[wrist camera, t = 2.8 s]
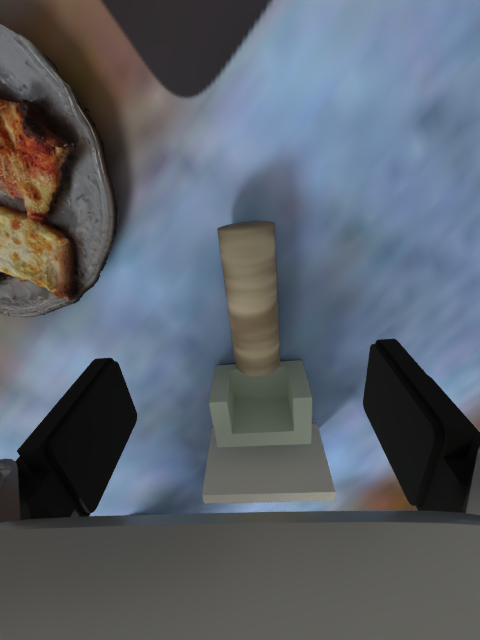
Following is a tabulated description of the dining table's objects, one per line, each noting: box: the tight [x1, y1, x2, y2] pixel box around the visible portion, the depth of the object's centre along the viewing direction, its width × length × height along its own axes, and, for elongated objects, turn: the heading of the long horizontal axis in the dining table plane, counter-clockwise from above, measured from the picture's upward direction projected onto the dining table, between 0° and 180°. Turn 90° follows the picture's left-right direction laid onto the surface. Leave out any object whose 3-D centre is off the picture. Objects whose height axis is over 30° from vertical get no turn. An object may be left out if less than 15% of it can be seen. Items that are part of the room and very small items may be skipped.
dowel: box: [218, 221, 280, 376], centre depth 27 cm, size 14×5×5 cm, turn 6°
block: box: [209, 360, 312, 448], centre depth 31 cm, size 6×10×6 cm, turn 96°
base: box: [202, 423, 335, 504], centre depth 34 cm, size 2×14×9 cm, turn 96°
